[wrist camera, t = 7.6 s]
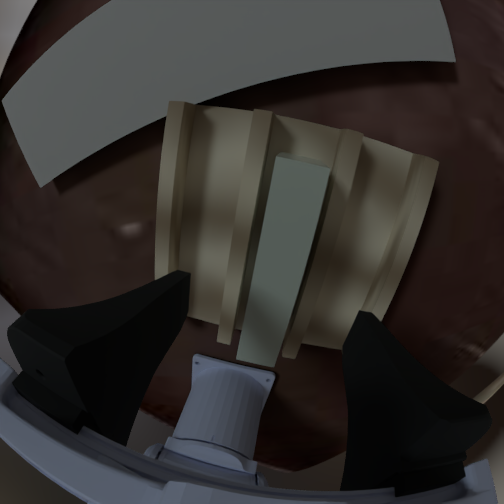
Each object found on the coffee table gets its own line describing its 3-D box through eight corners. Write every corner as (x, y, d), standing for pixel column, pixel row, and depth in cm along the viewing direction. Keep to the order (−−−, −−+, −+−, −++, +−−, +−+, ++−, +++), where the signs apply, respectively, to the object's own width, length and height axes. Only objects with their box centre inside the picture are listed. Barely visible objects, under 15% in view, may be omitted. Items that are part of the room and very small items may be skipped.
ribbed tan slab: (356, 344, 22) (360, 368, 19) (165, 301, 23) (150, 322, 20) (424, 159, 15) (445, 164, 12) (181, 104, 16) (161, 100, 14)
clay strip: (279, 320, 21) (273, 367, 16) (248, 313, 21) (236, 359, 16) (320, 160, 16) (330, 168, 11) (281, 151, 16) (276, 156, 11)
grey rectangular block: (423, 58, 14) (388, -44, 9) (455, 62, 11) (413, -60, 5) (68, 166, 23) (34, 88, 17) (40, 187, 19) (1, 100, 13)
